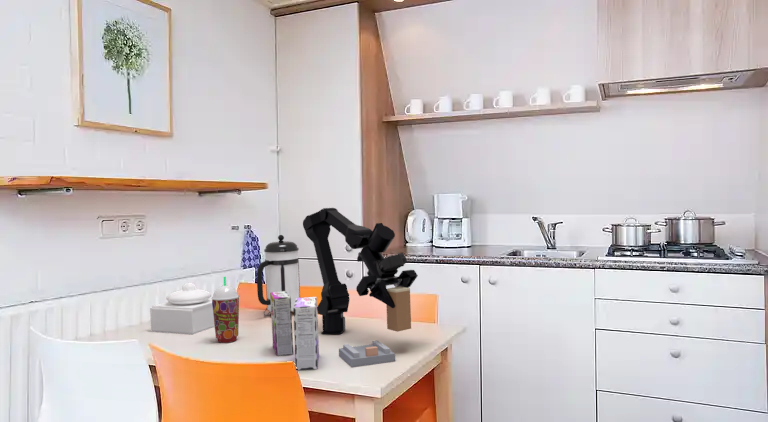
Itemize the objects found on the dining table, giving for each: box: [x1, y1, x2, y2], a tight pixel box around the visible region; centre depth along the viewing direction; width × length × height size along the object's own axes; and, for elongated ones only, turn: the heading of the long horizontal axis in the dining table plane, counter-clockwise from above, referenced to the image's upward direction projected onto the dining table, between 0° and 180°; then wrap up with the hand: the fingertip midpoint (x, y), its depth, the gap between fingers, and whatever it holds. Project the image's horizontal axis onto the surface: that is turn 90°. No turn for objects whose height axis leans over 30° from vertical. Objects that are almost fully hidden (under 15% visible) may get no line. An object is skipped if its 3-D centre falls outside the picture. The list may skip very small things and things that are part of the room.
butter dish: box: [149, 282, 215, 335], centre depth 206 cm, size 18×18×16 cm
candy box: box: [293, 296, 320, 371], centre depth 157 cm, size 14×6×16 cm, turn 5°
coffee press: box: [256, 234, 301, 316], centre depth 222 cm, size 17×16×30 cm
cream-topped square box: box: [386, 286, 412, 333], centre depth 165 cm, size 4×5×11 cm
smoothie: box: [210, 276, 240, 344], centre depth 185 cm, size 8×8×20 cm
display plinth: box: [338, 340, 396, 368], centre depth 159 cm, size 12×12×4 cm
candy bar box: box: [270, 291, 294, 357], centre depth 170 cm, size 11×5×16 cm, turn 17°
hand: (401, 305), depth 164 cm, fingers closed on cream-topped square box, 5 cm apart
